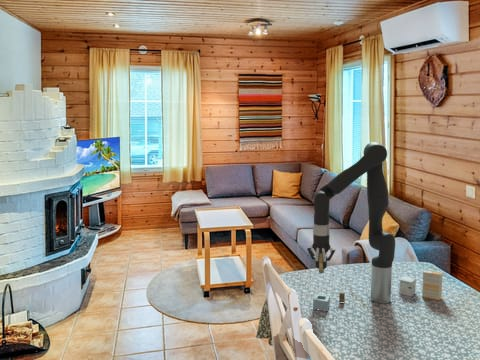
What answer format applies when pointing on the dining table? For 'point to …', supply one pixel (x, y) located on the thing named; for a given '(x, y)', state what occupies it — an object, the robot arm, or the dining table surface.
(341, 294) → the short dowel
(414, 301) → the dining table surface
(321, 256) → the long dowel
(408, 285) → the skincare box
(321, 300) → the hole block
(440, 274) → the supplement box
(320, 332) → the dining table surface
